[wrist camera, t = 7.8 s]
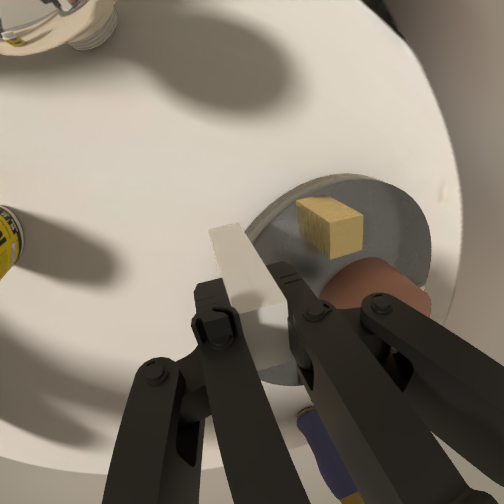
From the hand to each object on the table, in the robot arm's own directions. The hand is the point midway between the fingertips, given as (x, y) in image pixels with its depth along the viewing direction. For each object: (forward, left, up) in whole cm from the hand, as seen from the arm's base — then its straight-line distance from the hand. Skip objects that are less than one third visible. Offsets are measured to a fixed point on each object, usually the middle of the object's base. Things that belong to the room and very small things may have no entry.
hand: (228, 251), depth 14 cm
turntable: (+9, -8, -5) cm, 13 cm away
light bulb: (-5, +15, -5) cm, 16 cm away
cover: (+10, -8, -2) cm, 13 cm away
